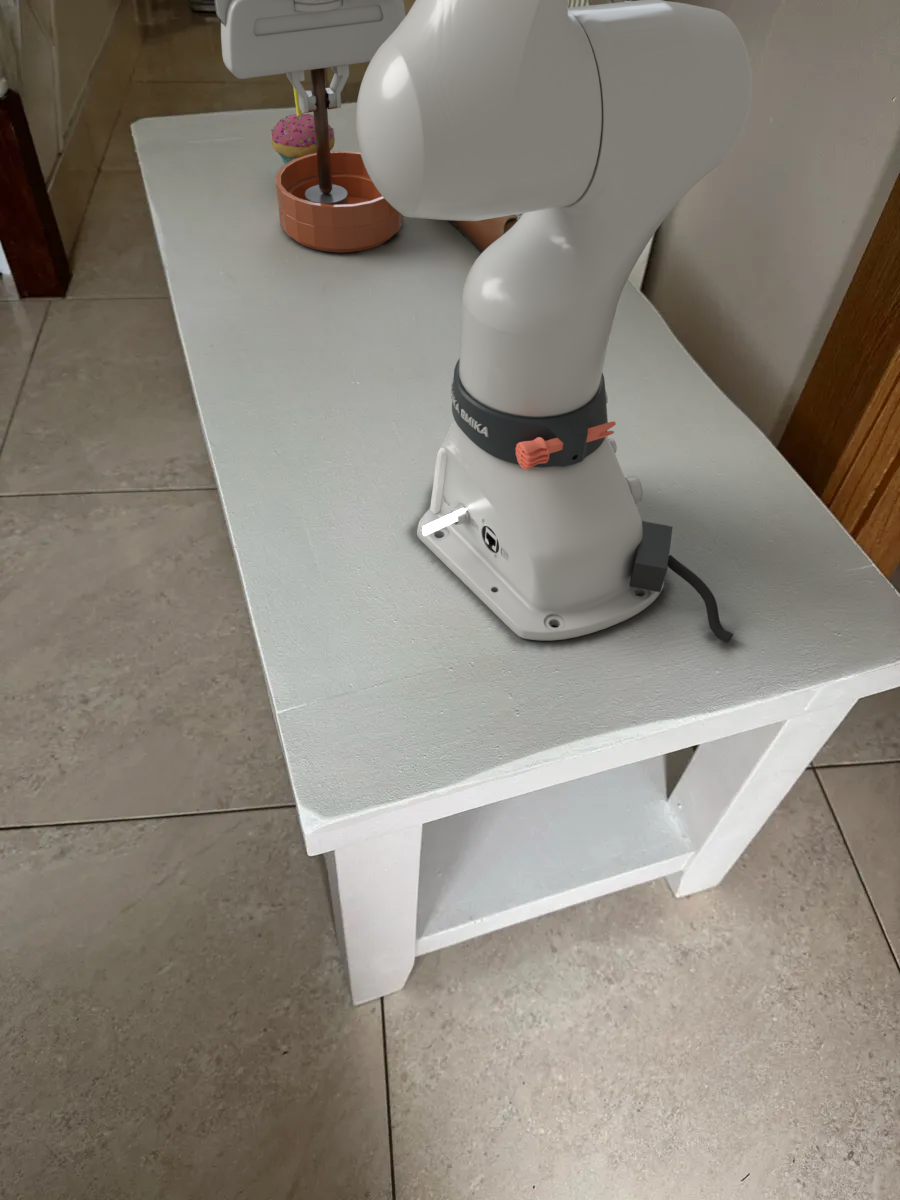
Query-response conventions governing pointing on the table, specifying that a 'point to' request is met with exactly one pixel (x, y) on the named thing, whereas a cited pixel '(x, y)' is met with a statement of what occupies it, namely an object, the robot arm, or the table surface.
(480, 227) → the sunglasses case
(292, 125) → the cupcake
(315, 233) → the bowl
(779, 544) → the table surface
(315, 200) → the rod on grey base
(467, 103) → the robot arm
